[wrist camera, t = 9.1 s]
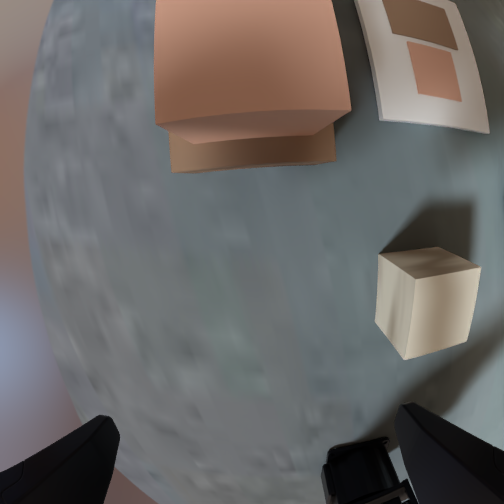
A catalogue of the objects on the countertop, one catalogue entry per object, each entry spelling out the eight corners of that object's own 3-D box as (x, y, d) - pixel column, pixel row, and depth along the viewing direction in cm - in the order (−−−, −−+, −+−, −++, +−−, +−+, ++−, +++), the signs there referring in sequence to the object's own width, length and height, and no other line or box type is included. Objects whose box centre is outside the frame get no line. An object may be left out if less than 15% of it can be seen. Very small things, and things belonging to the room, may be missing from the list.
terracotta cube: (300, 34, 10) (323, -29, 5) (312, 135, 11) (351, 110, 6) (188, 42, 10) (157, -17, 5) (193, 144, 11) (155, 124, 7)
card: (451, 5, 12) (456, 2, 11) (485, 134, 15) (491, 133, 14) (346, -23, 12) (348, -28, 12) (379, 120, 15) (384, 118, 15)
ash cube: (437, 246, 18) (481, 267, 13) (430, 309, 19) (466, 341, 14) (378, 253, 18) (415, 279, 13) (374, 321, 19) (404, 360, 14)
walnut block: (302, 57, 15) (318, 21, 10) (312, 165, 16) (336, 160, 12) (188, 66, 15) (166, 31, 10) (194, 173, 17) (171, 172, 12)
